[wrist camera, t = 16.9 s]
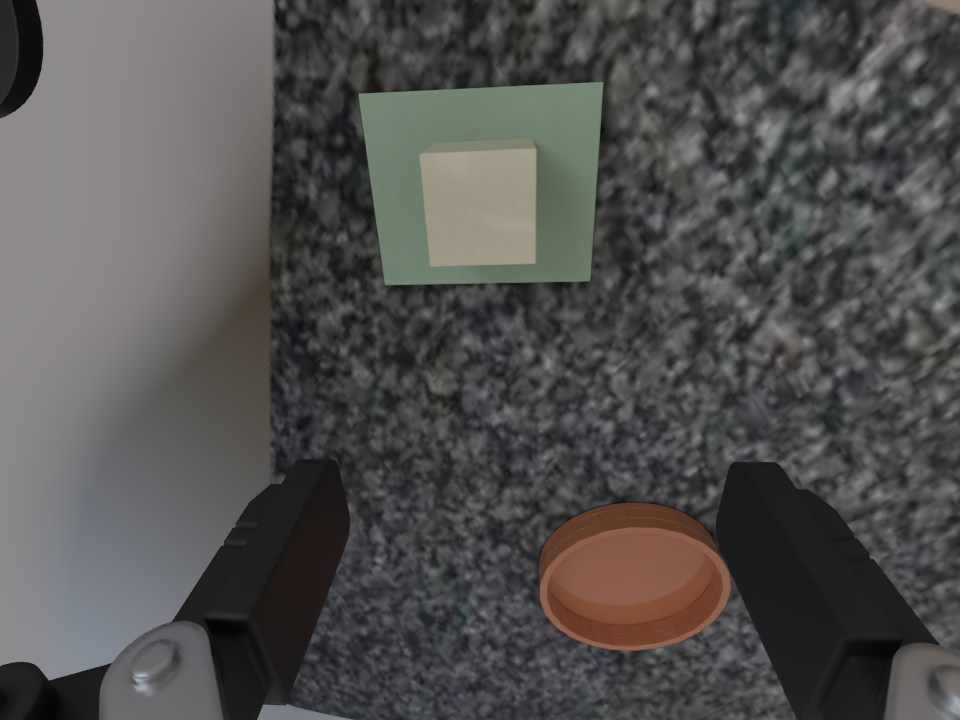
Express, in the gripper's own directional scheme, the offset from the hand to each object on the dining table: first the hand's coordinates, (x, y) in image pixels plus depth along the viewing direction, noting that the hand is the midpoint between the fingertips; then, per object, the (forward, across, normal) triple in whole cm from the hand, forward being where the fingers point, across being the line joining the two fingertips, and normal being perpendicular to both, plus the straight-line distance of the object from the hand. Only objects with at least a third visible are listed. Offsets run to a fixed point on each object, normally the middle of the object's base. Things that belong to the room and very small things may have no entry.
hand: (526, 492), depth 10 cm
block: (+20, +2, -3) cm, 20 cm away
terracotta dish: (+20, -8, +27) cm, 35 cm away
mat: (+20, +2, -3) cm, 20 cm away
